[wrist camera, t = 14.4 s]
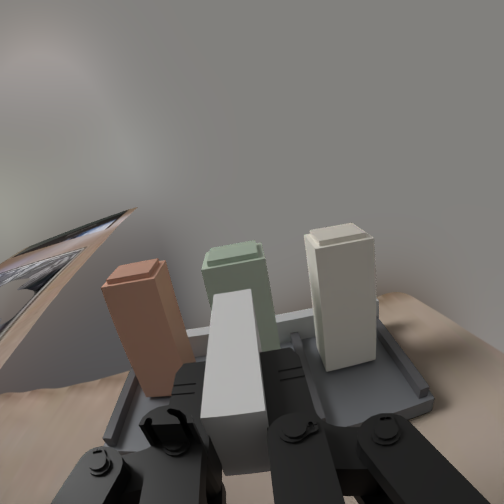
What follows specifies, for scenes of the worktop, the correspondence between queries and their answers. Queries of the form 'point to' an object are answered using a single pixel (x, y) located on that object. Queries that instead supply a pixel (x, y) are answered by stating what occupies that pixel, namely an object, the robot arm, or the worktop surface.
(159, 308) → the brown tall rectangular block
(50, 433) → the worktop surface
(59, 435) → the worktop surface
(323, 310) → the cream tall rectangular block
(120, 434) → the grey slotted tray
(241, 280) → the sage green tall block
